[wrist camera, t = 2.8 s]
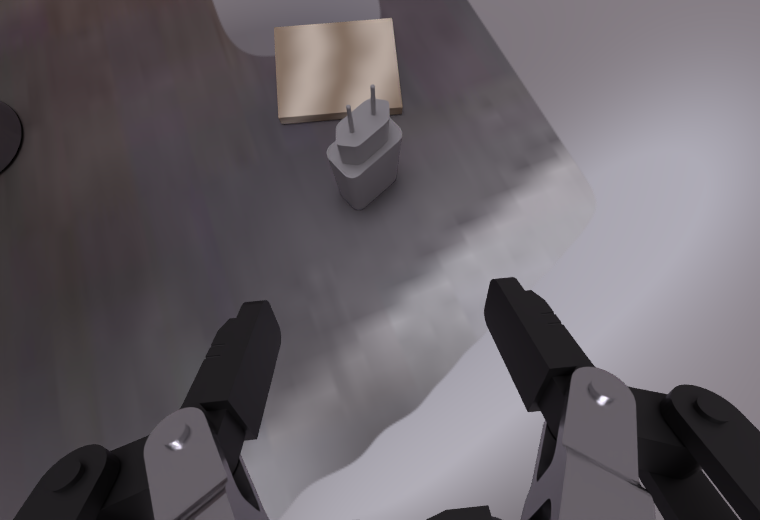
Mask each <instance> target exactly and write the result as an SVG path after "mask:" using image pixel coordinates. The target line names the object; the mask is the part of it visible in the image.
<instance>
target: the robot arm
mask: <svg viewBox="0 0 760 520" xmlns="http://www.w3.org/2000/svg"><path fill="white" fill-rule="evenodd" d="M20 140H21V125H20V122H19V118H18V117H17V115H16V113H15V112H14V111H13V110H12V109H11V108H10V107H9V106H8V105H7V104H5V103H3V102H2V101H0V172H1V171H2V170H3V169H4V168H5V167H6V166H7V165H8V164H9V163H10V162H11V160H12V159H13V157H14V156H15V154H16V152H17V150H18V147H19V145H20ZM484 316H485V321H486V324H487V327H488V329H489V331H490V333H491V335H492V337H493V339H494V341H495V344H496V346H497V348H498V350H499V352H500V354H501V356H502V358H503V360H504V363H505V364H506V367H507V369H508V371H509V373H510V375H511V377H512V380H513V382H514V384H515V386H516V388H517V390H518V392H519V394H520V396H521V398H522V401H523V403H524V405H525V407H526V409H527V411H528V412H534V411H541V412H542V414H543V416H544V418H545V422H544V425H543V429H542V434H541V439H540V444H539V449H538V454H537V459H536V464H535V470H534V475H533V479H532V483H531V487H530V490H529V493H528V495H527V498H526V501H525V504H524V508H523V512H522V516H521V520H656V517H655V507H654V503H655V505H656V506H657V508H658V510H659V511H660V513H661V515H662V516H663V518H664V520H739V519H738V518H737V516H736V515H735V514H734V512H733V511H732V510H731V509H730V507H729V506H728V504H727V503H726V502H725V501H724V500H723V498H722V497H721V495H720V494H719V493H718V491H717V490H716V489H715V487H714V486H713V485H712V484H711V482H710V481H709V480H708V478H707V477H706V476H705V474H704V473H703V472H702V469H703V470H704V471H705V473H706V474H707V475H708V476H709V478H710V479H711V480H712V482H713V483H714V484H715V485H716V487H717V488H718V489H719V491H720V492H721V493H722V495H723V496H724V497H725V499H726V500H727V501H728V502H729V504H730V505H731V506H732V507H733V509H734V510H735V512H736V513H737V514H738V515H739V517H740V518H741V519H742V520H760V431H759V430H758V429H757V428H756V427H755V426H754V425H753V424H752V423H751V422H750V421H749V420H748V419H747V418H746V417H745V416H744V415H743V414H742V413H741V412H740V411H739V410H738V409H737V408H736V407H735V406H733V405H732V404H731V403H730V402H728V401H727V400H725V399H724V398H722V397H721V396H719V395H717V394H715V393H713V392H711V391H709V390H707V389H704V388H701V387H698V386H694V385H679V386H677V387H675V388H674V389H673V390H672V391H671V392H670V393H669V394H663V393H658V392H653V391H647V390H642V389H637V388H632V387H628V386H626V385H625V383H624V382H622V381H621V380H620V379H618V378H617V377H616V376H614V375H613V374H611V373H609V372H607V371H605V370H602V369H599V368H596V367H595V366H594V365H593V364H592V363H591V361H590V360H589V359H588V357H587V356H586V355H585V353H584V352H583V351H582V349H581V348H580V347H579V345H578V344H577V343H576V341H575V340H574V339H573V337H572V336H571V334H570V333H569V332H568V330H567V329H566V328H565V326H564V325H562V324H561V321H560V320H559V319H558V317H557V316H556V315H554V312H553V311H552V309H551V308H550V306H549V305H548V304H547V302H546V301H545V300H544V299H543V298H541V297H540V296H538V295H537V294H536V293H534V292H533V291H532V290H528V291H525V290H524V289H523V287H522V286H521V285H520V283H519V282H518V280H517V279H516V278H514V277H510V278H500V279H492V280H491V282H490V285H489V289H488V294H487V299H486V303H485V308H484ZM280 344H281V331H280V328H279V325H278V323H277V320H276V318H275V315H274V313H273V311H272V308H271V306H270V304H269V302H268V301H267V300H264V301H253V302H245V303H243V305H242V306H241V308H240V311H239V313H238V315H237V318H231V319H229V320H228V321H227V322H226V323H225V324H224V325H223V326H222V327H221V328H220V329H219V330H218V332H217V334H216V336H215V338H214V340H213V342H212V344H211V348H209V351H208V353H207V355H206V359H204V361H203V363H202V365H201V367H200V369H199V371H198V373H197V375H196V378H195V380H194V382H193V384H192V386H191V388H190V390H189V392H188V394H187V396H186V398H185V400H184V403H183V404H182V406H181V408H180V409H179V410H177V411H175V412H173V413H172V414H170V415H168V416H167V417H166V418H164V419H163V420H162V421H161V422H160V423H159V424H158V425H157V426H156V427H155V428H154V429H153V431H152V432H151V434H150V435H148V436H146V437H144V438H141V439H139V440H137V441H134V442H132V443H129V444H127V445H124V446H122V447H120V448H117V449H115V450H112V451H109V450H107V449H106V448H104V447H102V446H100V445H96V444H93V445H87V446H84V447H81V448H78V449H76V450H74V451H72V452H71V453H69V454H68V455H66V456H65V457H63V458H62V459H60V460H59V461H58V462H57V463H56V464H54V465H53V466H52V467H51V468H50V469H49V470H48V471H47V472H46V474H45V475H44V476H43V477H42V478H41V480H40V481H39V482H38V484H37V485H36V487H35V488H34V490H33V491H32V493H31V494H30V495H29V497H28V498H27V500H26V501H25V503H24V504H23V506H22V507H21V509H20V510H19V512H18V513H17V515H16V516H15V518H14V519H13V520H269V518H268V516H267V514H266V512H265V510H264V508H263V506H262V503H261V501H260V499H259V496H258V494H257V491H256V489H255V487H254V484H253V482H252V480H251V477H250V475H249V473H248V470H247V468H246V465H245V463H244V461H243V458H242V456H241V454H240V453H241V449H242V446H243V442H244V440H254V439H257V437H258V433H259V429H260V425H261V421H262V417H263V413H264V409H265V405H266V401H267V397H268V393H269V389H270V385H271V381H272V377H273V373H274V369H275V365H276V361H277V357H278V353H279V349H280ZM639 478H640V480H641V482H642V483H643V485H644V486H645V488H646V489H644V488H643V487H641V485H640V482H639ZM653 501H654V502H653ZM427 520H501V519H499V518H496V517H492V516H491V513H490V510H489V506H479V507H469V508H460V509H451V510H445V511H443V512H441V513H439V514H437V515H435V516H433V517H431V518H429V519H427Z"/></svg>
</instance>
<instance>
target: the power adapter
mask: <svg viewBox="0 0 760 520" xmlns="http://www.w3.org/2000/svg"><path fill="white" fill-rule="evenodd" d="M370 89H371V97H370V99H368V100H366V101H364V102H363V103H362V104H360V105H359V106H358V107H357V108H356V109H354V110H353V111H352V112H351V106H350V105H346V110H347V116H346V117H345V118H344V119H342V120H341V121H340V122H339V123H338V125H337V126H336V141H335V142H334V143H333V144H331V145H330V146H329V148H328V149H327V156H328V159H329V162H330V165H331V168H332V171H333V173H334V176H335V179H336V182H337V185H338V188H339V190H340V193H341V195H342V197H343V198H344V199H345V200H346V201H347V202H348V203H349V204H350V205H351V206H352V207H353V208H354V209H356V210H361V209H363V208H365V207H366V206H367V205H368V204H369V203H371V202H372V201H373V200H374V199H375V198H376V197H377V196H378V195H380V194H381V193H382V192H383V191H384V190H385V189H386V188H388V187H389V186H390V185H391V184H392V183H393V182H394V181H395V180H396V176H397V169H398V162H399V154H400V147H401V140H402V131H401V128H400V127H399V126H398V125H397V124H396V123H395V122H394V121H393V120H392V119H391V118H390V112H389V102H388V101H387V100H381V99H376V97H375V85H374V84H372V85H371V86H370Z"/></svg>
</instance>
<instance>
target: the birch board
mask: <svg viewBox="0 0 760 520" xmlns="http://www.w3.org/2000/svg"><path fill="white" fill-rule="evenodd" d="M274 37H275V56H276V76H277V96H278V116H279V120H280V121H281V123H282V124H290V123H302V122H313V121H325V120H336V119H344V118H345V117H346V116H347V110H346V105H350V106H351V112H352V111H353V110H354V109H356V108H357V107H358V106H359V105H360V104H362V103H363V102H364V101H366V100H368V99H370V97H371V89H370V86H371V85H372V84H374V85H375V97H376V99H381V100H387V101H388V102H389V112H390V115H394V114H402V99H401V91H400V82H399V74H398V65H397V57H396V48H395V40H394V32H393V23H392V18H387V19H374V20H362V21H349V22H337V23H325V24H312V25H300V26H287V27H275V28H274Z"/></svg>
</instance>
